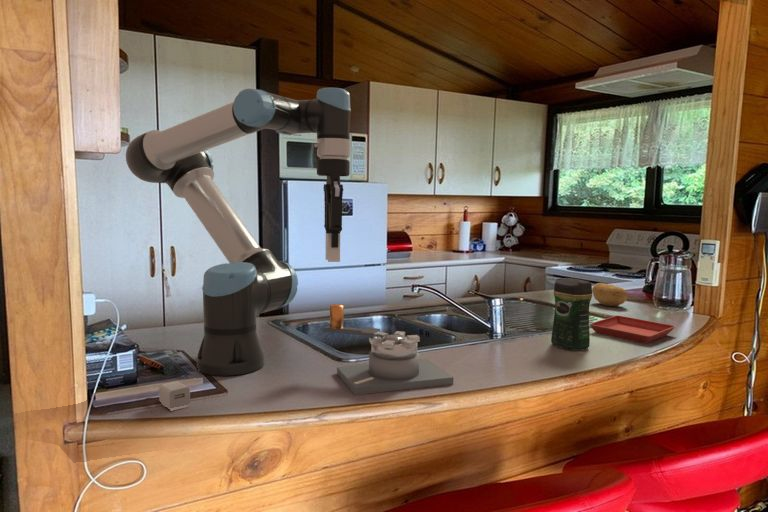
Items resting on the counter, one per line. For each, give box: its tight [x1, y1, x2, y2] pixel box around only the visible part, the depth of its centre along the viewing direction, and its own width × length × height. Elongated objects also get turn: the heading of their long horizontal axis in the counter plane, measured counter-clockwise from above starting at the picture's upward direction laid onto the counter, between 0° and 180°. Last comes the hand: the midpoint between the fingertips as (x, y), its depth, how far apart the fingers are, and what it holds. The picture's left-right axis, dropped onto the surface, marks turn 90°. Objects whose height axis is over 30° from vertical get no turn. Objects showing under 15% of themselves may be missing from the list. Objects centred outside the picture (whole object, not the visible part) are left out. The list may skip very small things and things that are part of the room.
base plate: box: [336, 351, 454, 396], centre depth 122 cm, size 22×14×6 cm, turn 109°
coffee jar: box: [550, 277, 593, 351], centre depth 150 cm, size 10×8×19 cm
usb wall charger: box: [158, 380, 191, 408], centre depth 106 cm, size 4×7×4 cm, turn 45°
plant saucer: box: [589, 315, 676, 344], centre depth 166 cm, size 18×18×3 cm
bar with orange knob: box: [324, 303, 421, 360], centre depth 123 cm, size 21×11×10 cm, turn 73°
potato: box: [592, 282, 629, 307], centre depth 208 cm, size 10×14×8 cm
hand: (332, 260), depth 130 cm, fingers open, 3 cm apart
